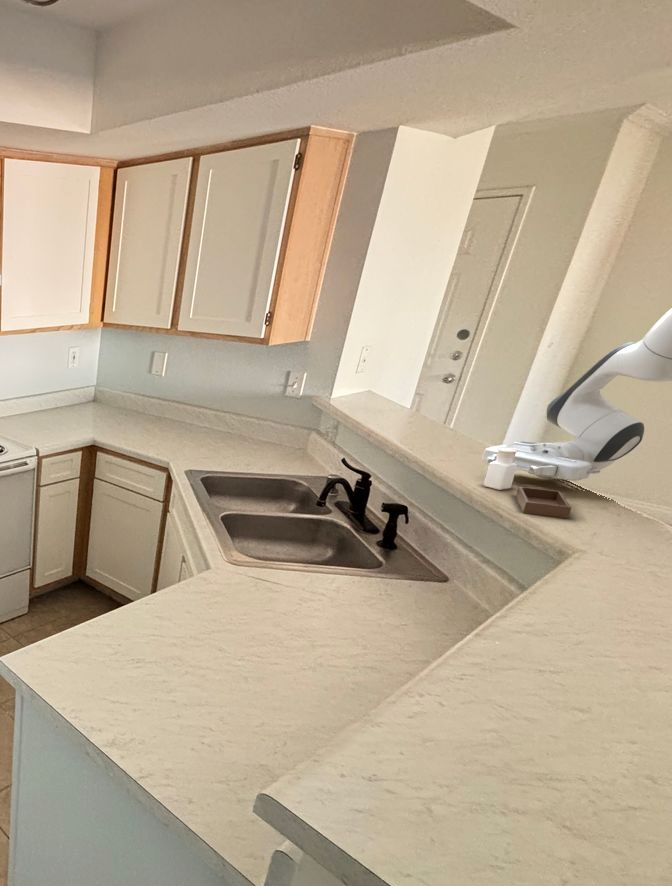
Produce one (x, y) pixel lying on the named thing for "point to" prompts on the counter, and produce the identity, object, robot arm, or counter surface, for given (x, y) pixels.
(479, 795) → the counter surface
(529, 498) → the tray
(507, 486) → the pepper shaker
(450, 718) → the counter surface
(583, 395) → the robot arm
